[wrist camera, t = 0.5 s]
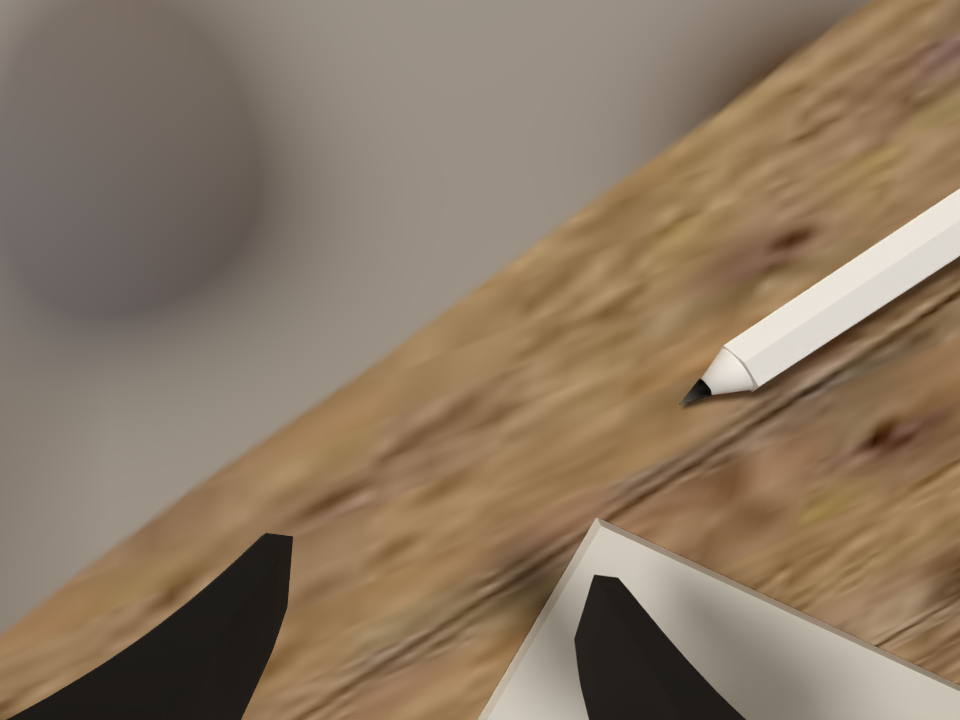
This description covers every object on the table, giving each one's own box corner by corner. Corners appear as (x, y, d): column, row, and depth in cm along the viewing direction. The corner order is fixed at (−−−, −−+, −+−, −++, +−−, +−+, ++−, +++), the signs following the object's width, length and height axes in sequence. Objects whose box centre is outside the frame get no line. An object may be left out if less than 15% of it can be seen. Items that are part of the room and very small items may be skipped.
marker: (662, 392, 24) (980, 180, 22) (692, 431, 23) (1023, 215, 22) (666, 381, 21) (1023, 143, 20) (700, 424, 21) (1073, 180, 19)
